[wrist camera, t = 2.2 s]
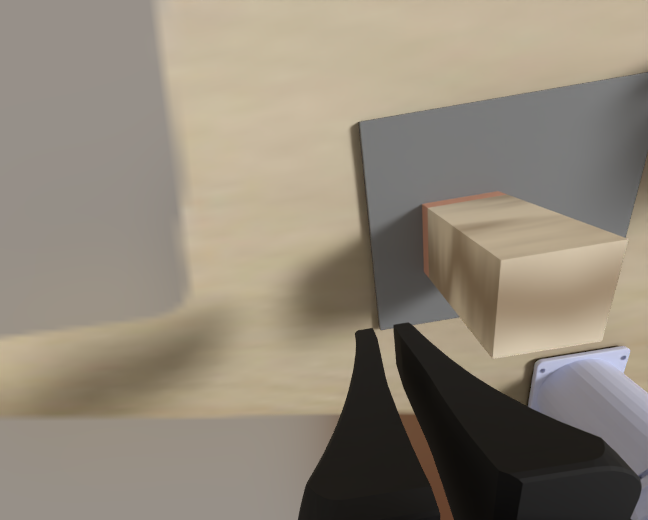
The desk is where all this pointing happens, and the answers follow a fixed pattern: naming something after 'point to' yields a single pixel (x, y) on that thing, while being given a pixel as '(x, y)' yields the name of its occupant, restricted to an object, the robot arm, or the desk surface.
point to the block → (521, 272)
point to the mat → (498, 172)
